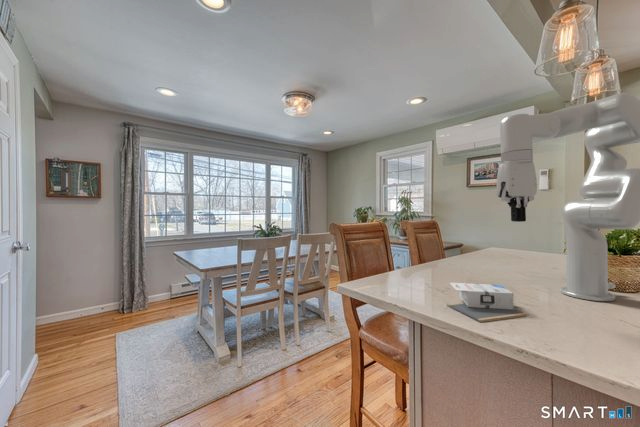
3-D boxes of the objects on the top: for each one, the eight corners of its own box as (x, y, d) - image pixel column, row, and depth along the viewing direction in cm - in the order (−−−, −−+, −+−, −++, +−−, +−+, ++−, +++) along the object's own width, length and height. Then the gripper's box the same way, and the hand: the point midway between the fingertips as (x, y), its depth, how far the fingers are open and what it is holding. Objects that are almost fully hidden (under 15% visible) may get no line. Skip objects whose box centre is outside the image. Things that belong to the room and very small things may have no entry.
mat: (488, 301, 83) (488, 299, 83) (526, 316, 72) (526, 314, 72) (447, 306, 80) (447, 304, 80) (479, 322, 68) (479, 320, 68)
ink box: (500, 300, 83) (449, 297, 86) (500, 284, 83) (449, 282, 86) (514, 310, 75) (456, 307, 78) (514, 293, 74) (456, 290, 78)
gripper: (524, 161, 83) (526, 219, 84) (484, 161, 80) (486, 222, 80) (550, 156, 76) (551, 220, 76) (507, 156, 73) (509, 223, 73)
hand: (518, 221), depth 78 cm, fingers closed
